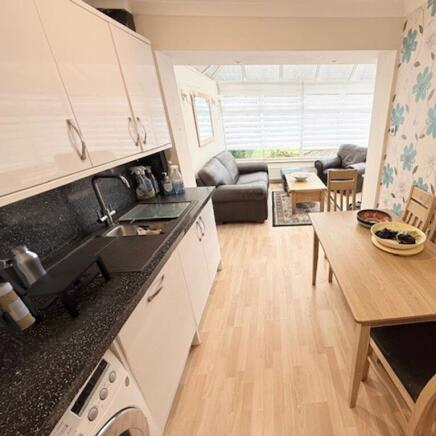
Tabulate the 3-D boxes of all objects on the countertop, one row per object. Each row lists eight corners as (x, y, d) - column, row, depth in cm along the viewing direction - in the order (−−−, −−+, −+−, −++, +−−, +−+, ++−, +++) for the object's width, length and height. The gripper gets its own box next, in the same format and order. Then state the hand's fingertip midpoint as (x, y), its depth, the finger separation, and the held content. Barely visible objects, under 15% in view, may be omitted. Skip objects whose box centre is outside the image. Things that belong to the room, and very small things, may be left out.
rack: (34, 324, 83) (14, 298, 77) (76, 282, 102) (63, 259, 97) (77, 317, 84) (60, 291, 79) (111, 277, 104) (99, 254, 98)
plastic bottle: (34, 288, 101) (7, 248, 92) (55, 280, 105) (31, 241, 96) (33, 295, 96) (4, 254, 88) (55, 287, 100) (29, 247, 91)
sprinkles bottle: (7, 332, 63) (-25, 293, 57) (26, 318, 67) (-2, 280, 61) (23, 332, 63) (-8, 294, 57) (40, 318, 67) (13, 281, 61)
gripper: (-60, 273, 47) (8, 350, 57) (19, 231, 63) (61, 298, 73) (-103, 278, 46) (-27, 356, 56) (-13, 235, 62) (35, 301, 72)
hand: (23, 323), depth 65 cm, fingers closed on sprinkles bottle, 4 cm apart
